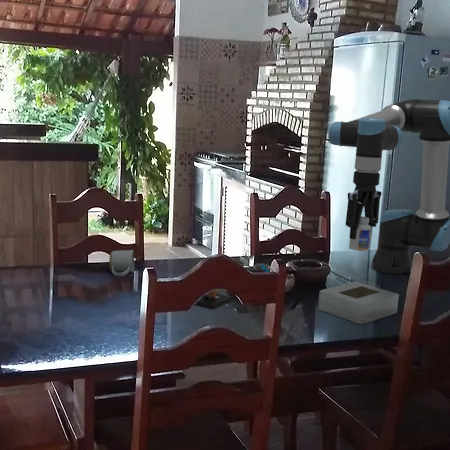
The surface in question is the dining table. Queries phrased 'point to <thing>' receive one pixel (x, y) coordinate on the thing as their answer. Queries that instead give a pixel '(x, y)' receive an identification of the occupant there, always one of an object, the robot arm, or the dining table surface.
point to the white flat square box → (358, 302)
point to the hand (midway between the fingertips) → (359, 248)
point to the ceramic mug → (121, 262)
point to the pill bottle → (364, 234)
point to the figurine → (213, 300)
